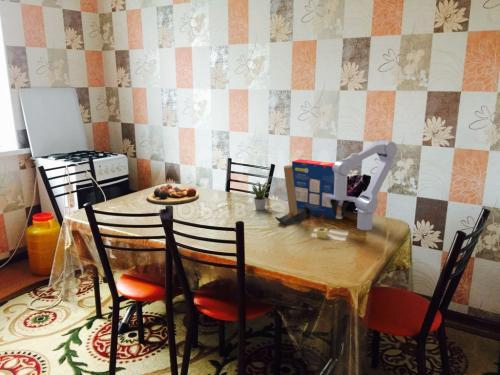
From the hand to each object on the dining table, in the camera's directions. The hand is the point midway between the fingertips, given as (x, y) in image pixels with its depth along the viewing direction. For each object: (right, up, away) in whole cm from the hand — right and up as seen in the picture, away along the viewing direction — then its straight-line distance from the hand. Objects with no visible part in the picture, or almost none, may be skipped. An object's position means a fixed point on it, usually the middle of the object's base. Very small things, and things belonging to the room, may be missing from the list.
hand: (339, 215), depth 202 cm
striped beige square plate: (-5, -9, 0) cm, 10 cm away
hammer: (-19, -4, +21) cm, 29 cm away
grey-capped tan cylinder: (0, -1, 0) cm, 1 cm away
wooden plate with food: (-89, +6, +67) cm, 112 cm away
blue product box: (-5, -1, +34) cm, 34 cm away
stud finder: (-9, -9, -3) cm, 13 cm away
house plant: (-35, +1, +43) cm, 55 cm away
